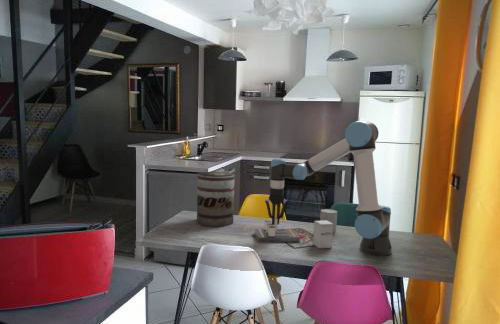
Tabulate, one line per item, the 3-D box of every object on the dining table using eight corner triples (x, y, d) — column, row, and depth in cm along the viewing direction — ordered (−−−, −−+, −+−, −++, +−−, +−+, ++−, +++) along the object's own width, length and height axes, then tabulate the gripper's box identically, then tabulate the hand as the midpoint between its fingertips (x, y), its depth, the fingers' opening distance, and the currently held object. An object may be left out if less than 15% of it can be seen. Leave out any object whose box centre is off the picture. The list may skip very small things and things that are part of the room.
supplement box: (319, 248, 183) (320, 224, 182) (312, 244, 190) (313, 220, 189) (332, 247, 185) (333, 223, 184) (325, 243, 192) (326, 219, 191)
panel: (299, 241, 193) (300, 236, 193) (258, 242, 190) (259, 237, 190) (292, 233, 208) (292, 228, 207) (254, 233, 205) (254, 229, 204)
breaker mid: (272, 233, 197) (273, 224, 196) (266, 233, 196) (267, 224, 196) (271, 231, 199) (272, 223, 199) (266, 231, 199) (266, 223, 199)
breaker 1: (270, 230, 202) (271, 221, 202) (265, 230, 202) (265, 221, 201) (269, 228, 205) (270, 220, 204) (264, 228, 204) (264, 220, 204)
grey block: (337, 234, 209) (339, 213, 208) (321, 233, 209) (322, 212, 208) (334, 229, 218) (335, 209, 217) (318, 228, 219) (319, 208, 217)
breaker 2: (274, 236, 191) (275, 227, 191) (268, 236, 191) (269, 227, 191) (273, 234, 194) (274, 226, 194) (268, 234, 194) (268, 226, 193)
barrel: (191, 225, 218) (192, 175, 214) (203, 216, 240) (204, 170, 236) (227, 228, 213) (229, 177, 210) (236, 218, 235) (238, 172, 232)
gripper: (287, 186, 201) (285, 228, 203) (263, 186, 199) (262, 228, 201) (290, 189, 193) (288, 232, 196) (266, 188, 191) (264, 232, 194)
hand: (275, 230), depth 198 cm, fingers closed
